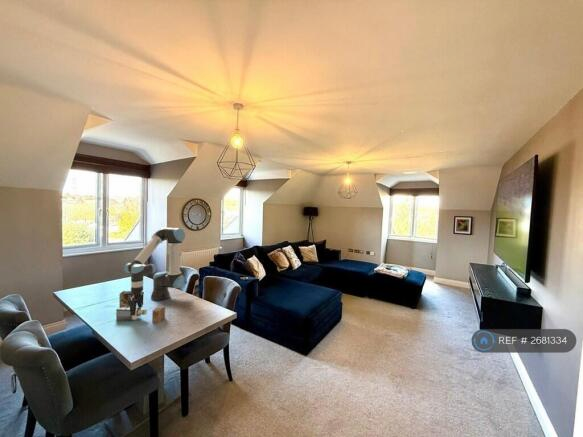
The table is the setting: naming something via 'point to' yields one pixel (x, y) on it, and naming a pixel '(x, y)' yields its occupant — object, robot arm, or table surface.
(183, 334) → the table surface
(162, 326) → the table surface
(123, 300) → the coffee box
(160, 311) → the tan box
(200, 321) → the table surface
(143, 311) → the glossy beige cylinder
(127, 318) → the sleeve
